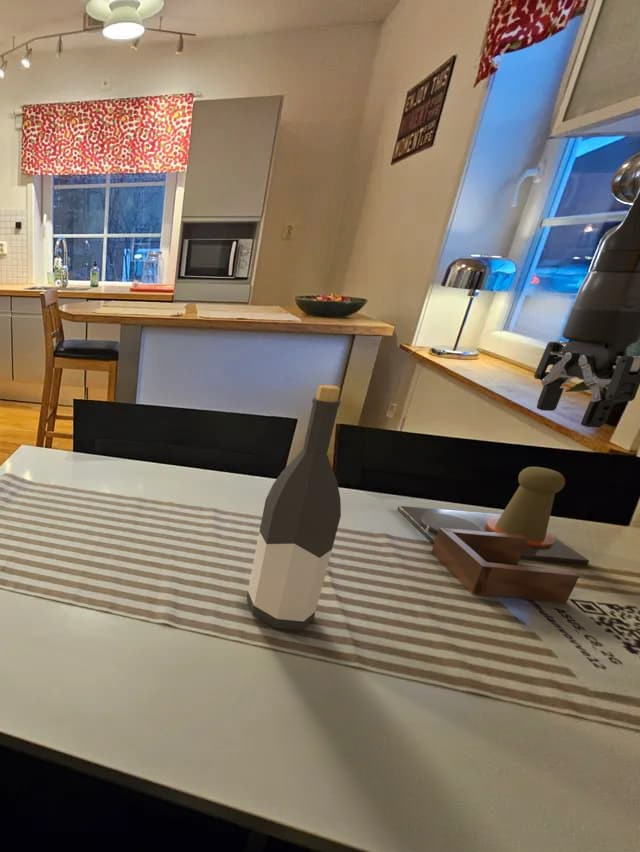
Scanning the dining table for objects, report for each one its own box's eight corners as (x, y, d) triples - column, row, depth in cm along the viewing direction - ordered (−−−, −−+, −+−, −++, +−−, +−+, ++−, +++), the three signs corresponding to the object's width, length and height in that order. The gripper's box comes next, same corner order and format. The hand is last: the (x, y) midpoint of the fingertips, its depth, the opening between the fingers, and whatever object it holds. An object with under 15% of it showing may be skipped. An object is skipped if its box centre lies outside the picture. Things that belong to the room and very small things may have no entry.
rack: (511, 560, 75) (522, 534, 74) (566, 603, 66) (579, 575, 64) (430, 552, 77) (439, 527, 76) (471, 593, 68) (482, 566, 66)
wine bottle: (314, 603, 66) (372, 383, 55) (311, 641, 59) (375, 400, 48) (250, 584, 69) (292, 375, 58) (240, 617, 63) (284, 389, 52)
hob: (521, 519, 87) (523, 513, 87) (587, 564, 74) (591, 557, 74) (397, 509, 90) (399, 503, 90) (439, 550, 78) (442, 543, 77)
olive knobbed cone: (509, 537, 79) (535, 475, 75) (487, 519, 84) (510, 460, 80) (554, 542, 78) (583, 479, 74) (529, 524, 83) (554, 464, 79)
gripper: (698, 311, 61) (640, 434, 67) (599, 302, 74) (558, 406, 80) (626, 311, 62) (576, 431, 68) (541, 302, 75) (505, 404, 81)
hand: (566, 417), depth 74 cm, fingers open, 8 cm apart
